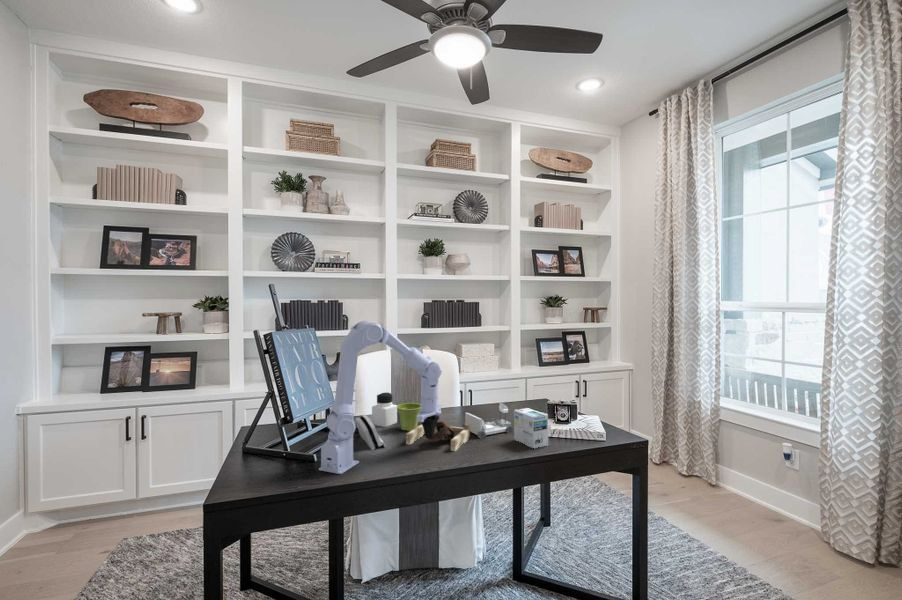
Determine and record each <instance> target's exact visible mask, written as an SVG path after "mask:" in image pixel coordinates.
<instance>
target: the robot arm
mask: <svg viewBox="0 0 902 600" xmlns="http://www.w3.org/2000/svg"><path fill="white" fill-rule="evenodd" d="M377 343H381V344H385V345H386V346H388V347H390V348H391V349H392V350H394V351H395V352H397V354H400V355H401V356H402V361H403V362H404V363H405V364H406V365H408V366H409V367H410V368H412V369H413V370H414V371H416V372H417V374H418V375H419V376H420V405H421V409H420V412H419V415H417V422H418V423H421V424H422V426H423V428H424V432H425V435H424V436H425V438H426V439H427V438H428V439H432V438H433V435H434V431H435V427H436V424H437V422H439V419H440V415H441V414H442V405H439V380H440V379H439V378H440V377H441V375H442V372H443V371H442V369H441V367H440V365H439V363H437V362H435V361H431V359H432V358H431V357H430V356H426V355H425V354H424V353H422V352H421V350H422V349H420V348H419V347H414V346H412V347H408V346H407V345H406V344H405V343H404V342H402V341H401V339H399V338H398V337H397V336H395V335H394V334H393V333H392V332H391V331H389V330H388V329H387V328H386V327H383V326H381V325H380V324H379V323H377V322H369V321H365V320H362V321H359V322H357V323H356V324H354V325H352V326H351V329H350V331H349V333H348V334H347V335H346V336H345V338H344V339H343V340H342V342H341V345H340V353H339V363H338V370H337V378H336V387H335V396H334V397H335V398H334V403H333V404H332V406H331V408H330V413H329V414H328V416H327V417H326V426H327V429H329V432H328V436H327V437H328V438H327V440H326V441H325V443H324V444H322V446H321V449H320V467H319V468H318V470H319V471H320V472H321V471H322V472H328V473H332V474H337V475H338V474H339V475H342V474H344V473H345V472H347V471H348V470H350V469H352V468H354V467H355V466H356V465H358V464H360V461H359V460H355V459H354V433H355V432H356V427H357V425H356V422H355V419H354V417H355V416H354V415H355V413H354V408H353V400H354V394H355V393H354V392H355V385H356V384H355V383H356V374H357V367H358V366H357V364H358V355H359V353H360V352H361V351H362V350H364V349H366V348H367V347H369V346H371V345H375V344H377ZM421 424H420V425H421Z"/></svg>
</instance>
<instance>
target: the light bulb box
mask: <svg viewBox="0 0 902 600" xmlns="http://www.w3.org/2000/svg"><path fill="white" fill-rule="evenodd" d="M513 411H514V412H513V415H514V416H513V417H514V418H513V419H514V421H513V422H514V423H513V426H514V427H513V435H514V438H513V440H514V439H515V440H514V441H516V442H518V441H519V442H518V443H520V442H521V443H520V444H522V443H523V445H524V444H525V446H527V447H529V448H530V449H533V448H534V449H537V448H538V447H539V448H543V447H547V446H549V414H548V413H544V412H541V411H537V410H534V409H532V408H529V407H525V408H519V409H514V410H513Z"/></svg>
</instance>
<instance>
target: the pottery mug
mask: <svg viewBox="0 0 902 600" xmlns="http://www.w3.org/2000/svg"><path fill="white" fill-rule="evenodd" d="M451 426H452V425H449V424H447V423H446V422H445V421H443V420H440V421H439V420H438V422H437V424H436V429H437V431H438V433H436V434H434V435H433V438H432V439H428V438H426V440H427V443H428V444H430V443H431V442H432V443H435V442H439V441H441V440H442V441H445V437H447V436H448V437H447V439H448V440H452V439H453V438H454V437H455V434H454V431H453V429H452V428H451ZM445 435H447V436H445Z"/></svg>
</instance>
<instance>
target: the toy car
mask: <svg viewBox="0 0 902 600" xmlns="http://www.w3.org/2000/svg"><path fill="white" fill-rule="evenodd" d="M506 404H507V402H505V403H503V402H501V401H500V402H499V405H498V410H499V419H496V418H493V417H491V416H490V417H489V418H488V419H487V420H488V421H487V422H485V421H484V420H483V419H482V418H480V417H478V416H477V415H474V414H472V413H469V412H465V414H464V417H465V418H464V423H463V424H462V426H461V427H463V428H465V424H470V433H473V434H475V435H476V436H477V438H478V439H479V438H481V439H484V438H483V437H485V438H486V436H488V435H489V436H490V435H493V434H495V435H496V434H499V433H506V434H510V433H509V432H512V433H514V427H513V426H512V422H510V421H508V420H507V418H506V417H507V413H509V412H510V409H509V407H508V406H507V405H506ZM501 413H503V414H504V419H503V418H502V414H501Z"/></svg>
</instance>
